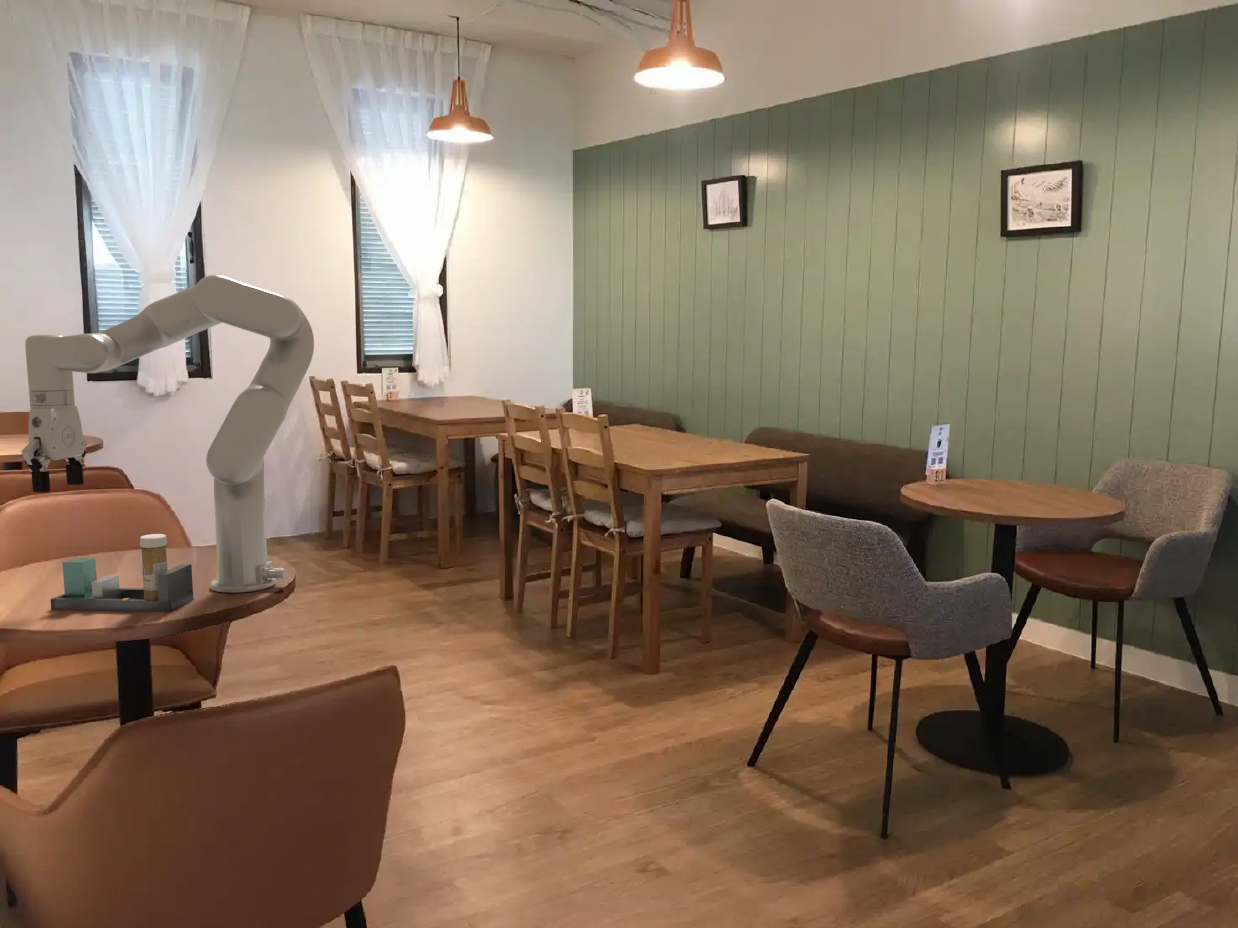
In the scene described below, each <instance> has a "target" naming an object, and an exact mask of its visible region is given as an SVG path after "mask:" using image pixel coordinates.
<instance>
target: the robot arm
mask: <svg viewBox="0 0 1238 928" xmlns="http://www.w3.org/2000/svg"><path fill="white" fill-rule="evenodd" d="M222 323H223V324H226V325H228V326H231V327H235V328H237V329H241V330H244V331H248V332H250V333H253V334H258V335H260V336H263V337H266V338H269V340H270V344H269V348H268V350H267V352H266V354H265V356H264V357H263V359H262V360H261V363H260V365H259V368H258V369H257V371H256V373H255V375H254V376H253V379H252V380H251V382H250V384H249V385H248V387H247V388H246V389H244V390H243V391H241V393H240V394H239V395H238V396H237V397H236V399H235V400H234V402H233V404H232V405H231V407H230V409H229V411H228V413H227V415H226V417H225V418H224V421H223V422H222V424H221V426H220V428H219V429H218V431H217V433H216V435H215V436H214V439H213V440H212V442H211V444H210V446H209V448H208V450H207V453H206V460H205V461H206V467H207V470H208V472H209V474H210V475H211V476H212V477H213V497H214V503H213V504H214V521H215V524H214V525H215V541H216V558H217V559H216V560H217V578H215V579H213V580H212V581H211V582H210V584H209V586H210V589H211V590H212V591H215V592H218V593H228V594H231V593H233V594H235V593H248V592H256V591H260V590H261V591H262V590H265V589H269V588H271V587H273V586H275V585H276V583H277V580H281V579H282V580H285V579H286V578H287V570H286V568H285V567H278V568H277V567H274V566H273V561H272V560H271V561H270V560H269V561H268V551H267V549H268V548H267V547H268V546H267V527H266V503H265V460H264V458H265V455H266V454H267V451H268V449H270V446H271V444H272V443H273V441H274V439H275V437H276V435H277V433H278V431H279V430H280V428H281V426H282V424H283V422H284V421H285V419H286V417H287V414H288V410H289V407H290V406H291V404H292V402H293V400H294V398H295V396H296V394H297V392H298V390H299V388H300V386H301V384H302V381H303V380H304V378H305V377H306V374H307V372H308V370H309V367H310V365H311V362H312V360H313V356H314V349H315V338H314V333H313V329H312V326H311V323H310V321H309V319H308V318H307V316H306V315H305V313H304V311H303V310H302V309H301V307H300V306H299V305H298V304H297V303H296V302H295V301H294V300H293V299H291V298H289V297H286V296H284V295H281V294H278V293H275V292H273V291H272V292H271V291H268V290H266V289H262V288H259V287H256V286H252V285H250V284H247V283H244V282H241V281H237V280H235V279H233V278H230V277H228V276H225V275H220V274H210V275H207V276H205V277H202V278H201V279H200V280H199V281H197V283H196V284H194V285H192V286H189V287H188V288H186V289H183V290H181V291H178V292H176V293H174V294H171V295H168V296H166V297H164V298H161V299H159V300H156V301H154V302H152V303H150V304H148V305H147V306H146V307H145V308H144V309H143V310H142V311H141V312H139V313H138V314H136V315H135V316H133V317H131V318H129V319H127V320H125V321H122V322H121V323H119V324H116V325H114V326H112V327H109V328H107V329H104V330H101V331H99V332H96V333H95V332H94V333H81V334H80V333H79V334H72V335H61V334H35V335H30V336H28V337H27V338H26V339H25V344H24V346H25V359H26V360H25V361H26V372H27V373H26V375H27V383H28V384H27V385H28V396H29V397H28V398H29V399H28V400H29V413H28V416H29V417H28V444H26V446H25V447H24V448H23V449H22V450H21V455H22V457H23V459H24V463H25V465H26V466H27V467H28V471H29V472H30V473H31V482H32V491H33V493H46V494H47V493H50V492H51V480H50V471H49V470H47V469H48V467H49V464H50V463H51V460H53V461H61V460H65V461H66V463H67V464H65V474H66V483H67V485H68V486H81V485H84V483H85V482H84V481H85V480H84V470H83V469H84V468H83V467H84V466H83V465H84V464H85V456H86V454H87V452H86V450H87V447H88V440H87V439H85V438H84V432H83V427H82V421H81V417H80V413H79V412H80V411H79V409H78V407H77V405H76V403H75V401H76V399H75V390H74V388H75V387H74V375H73V374H74V373H73V372H75V373H84V374H96V373H102V372H108V371H111V370H113V369H116V368H118V367H120V366H122V365H125V364H127V363H129V362H132V361H135V360H136V359H139V358H141V357H144V356H146V355H147V354H150V353H153V352H154V351H158V350H160V349H163V348H167V347H169V346H171V345H173V344H176V343H177V342H180V341H182V340H184V339H187V338H190V337H191V336H193V335H197V334H198V333H201V332H203V331H206V330H208V329H211V328H213V327H215V326H217V325H219V324H222Z"/></svg>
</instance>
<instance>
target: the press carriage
mask: <svg viewBox="0 0 1238 928" xmlns="http://www.w3.org/2000/svg"><path fill="white" fill-rule="evenodd" d="M96 565H97V563H96V557H73V558H70V559H68V560H64V561H62V574H63V575H62V576H63V591H64V593H65V598H91V599H119V598H121V593H120V588H121V587H120V575H119V574H108V575H105V576H103V577H100V578H98V576H97V566H96Z"/></svg>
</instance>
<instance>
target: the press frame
mask: <svg viewBox="0 0 1238 928" xmlns="http://www.w3.org/2000/svg"><path fill="white" fill-rule="evenodd" d="M192 567H193V566H192V563H182V564H179V565H177V566H174V567H173V568H169V569H168V571H165V572H163V573H161V574H158V590H159V600H144V588H137V587H136V588H135V587H120V593H121V598H119V599H91V598H65V592H64V593H62V594H59V595H58V596H55V597H51V598H50V601H49V602H50V609H51V610H52V611H53V610H55V611H57V610H59V611H61V610H62V611H102V612H103V611H104V610H105V611H107V612H108V611H109V612H110V611H111V612H148V613H149V612H152V613H154V612H155V613H170V612H172V611H174V610H175V609H178V608H179V607H182V606H184V605H186V604H187V603H189V602H192V601H194V587H193V586H194V585H193V584H194V583H193V568H192ZM183 604H184V605H183ZM105 611H104V612H105Z"/></svg>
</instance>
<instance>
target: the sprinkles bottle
mask: <svg viewBox="0 0 1238 928" xmlns="http://www.w3.org/2000/svg"><path fill="white" fill-rule="evenodd" d="M167 541H168V540H167V535H166V534H162V533H151V534H144V535H141V536H140V538H139V546H140V548H141V557H142V582H143V583H142V585H143V586H142V587H143V588H144V600H159V590H158V574H161V573H163V572H165V571H168V570H169V569H168V559H167V545H168V544H167V543H168V542H167Z"/></svg>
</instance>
